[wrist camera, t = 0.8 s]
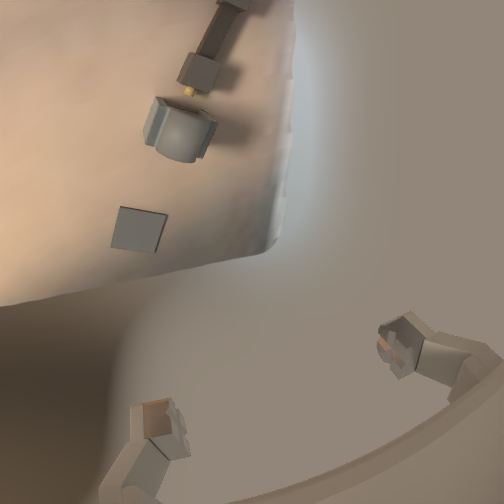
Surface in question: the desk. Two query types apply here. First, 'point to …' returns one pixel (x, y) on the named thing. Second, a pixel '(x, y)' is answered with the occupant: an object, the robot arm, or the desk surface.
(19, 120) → the desk surface
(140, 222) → the pad
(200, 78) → the grey long block-ended bar
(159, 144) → the housing
